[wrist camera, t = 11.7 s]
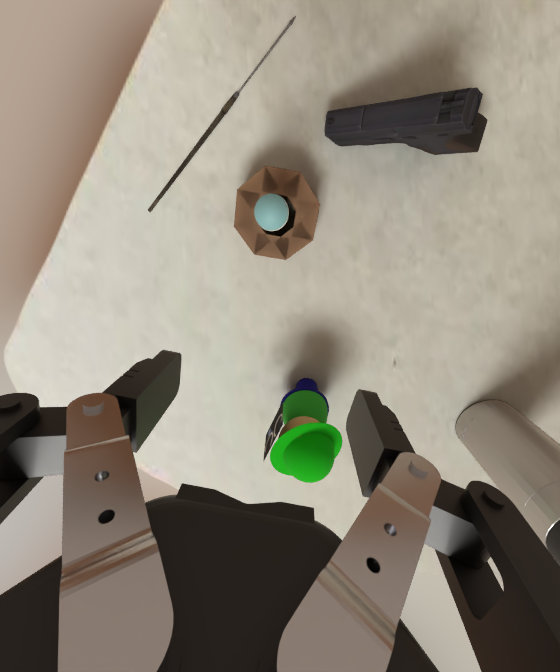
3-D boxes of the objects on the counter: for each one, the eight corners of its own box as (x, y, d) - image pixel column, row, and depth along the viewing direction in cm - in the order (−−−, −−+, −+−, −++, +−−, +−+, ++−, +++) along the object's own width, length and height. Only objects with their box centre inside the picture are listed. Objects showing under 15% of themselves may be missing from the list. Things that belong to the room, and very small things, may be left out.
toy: (288, 362, 42) (287, 431, 28) (339, 381, 43) (364, 457, 29) (266, 407, 45) (257, 489, 31) (315, 424, 46) (327, 511, 32)
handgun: (478, 153, 29) (469, 123, 22) (357, 160, 37) (319, 138, 29) (488, 120, 28) (483, 75, 21) (361, 133, 35) (323, 104, 28)
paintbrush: (148, 209, 35) (146, 209, 34) (294, 15, 27) (294, 11, 27) (152, 212, 35) (150, 212, 34) (297, 20, 28) (297, 16, 27)
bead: (321, 181, 33) (325, 176, 29) (306, 259, 36) (308, 263, 32) (245, 168, 32) (240, 161, 29) (237, 247, 36) (231, 250, 32)
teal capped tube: (290, 206, 34) (291, 196, 21) (286, 230, 35) (285, 234, 22) (268, 202, 34) (256, 189, 21) (265, 226, 35) (251, 228, 22)
